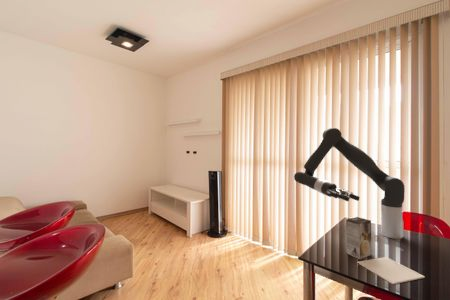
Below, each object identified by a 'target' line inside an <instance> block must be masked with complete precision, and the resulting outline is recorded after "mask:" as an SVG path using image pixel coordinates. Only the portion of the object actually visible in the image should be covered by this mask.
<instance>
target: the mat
mask: <svg viewBox="0 0 450 300" xmlns="http://www.w3.org/2000/svg"><path fill="white" fill-rule="evenodd" d="M356 263H357V264H358V263H359V264H358V265H360V266H362V267H363V268H365V269H367V270H368V271H369V272H372V273H373V274H375V275H377V276H378V277H379V278H381V279H383V280H385V281H386V282H387V283H389V284H390V285H397V284H401V283H406V282H410V281H415V280H420V279H425V278H426V277H425V275H423V274H421V273H419V272H417V271H415V270H414V269H413V270H412V269H411V268H409V267H407V266H405V265H403V264H402V263H399V262H397V261H395V260H393V259H391V258H390V257H387V256H383V257H378V258H372V259H365V260H360V261H357V262H356Z"/></svg>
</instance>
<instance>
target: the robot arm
mask: <svg viewBox="0 0 450 300" xmlns="http://www.w3.org/2000/svg"><path fill="white" fill-rule="evenodd" d="M332 148H335V150H337V151H338V152H339V153H340V154H341V155H342V156H343V157H344V158H345V159H346V160H347V161H349V162H350V164H352V165H353V166H354V167H356V168H357V170H360V171H361V173H363V174H364V175H366V176H367V177H369V178H370V179H371V181H373V182H374V183H375V184H376V186H378V187H379V188H380V190H382V191H383V192H384V196H383V198H381V201H380V212H381V213H380V214H381V216H380V221H381V223H380V227H381V228H380V229H381V231H380V232H381V233H380V234H381V235H382V236H383V237H386V238H388V239H389V238H390V239H394V240H402V239H403V238H404V220H403V204H404V203H405V192H406V191H405V190H406V189H405V188H406V187H405V183H404V182H403V181H402V180H401V179H399V178H398V177H394V176H393V177H392V176H390V175H389V174H387V173H385V172H384V171H383V170H381V168H380V167H378V165H377V164H376V162H375V161H374V160H373V158H372V157H371V156H369V155H368V154H367V153H366V152H365V151H364V150H362V149H360V148H358V147H357V146H355V145H354V144H352V143H350V142H349V141H347V140H346V139H345V138H344V137H343V136H342V132H341V130H340V129H339V128H336V127H330V128H326V129H325V130H324V131H323V133H322V140H321V142H320V143H319V145H318V146H317V148H316V149H315V150H314V151H313V153H312V154H311V155H310V156H309V157H308V159H307V160H306V162H305V164H304V165H303V168H304V172H303V171H296V173H294V175H293V178H294V179H293V180H294V181H295V182H296V183H299V184H301V185H303V186H306V187H309V189H312V190H314V191H317V192H319V193H321V194H322V195H325V196H327V197H329V198H331V197H333V198H334V199H340V200H342V201H345V202H349V201H350V199H352V200H355V201H357V202H358V201H360V196H358V195H356V194H354V193H353V192H351V191H349V190H346V189H344V188H338V187H337V185H336V184H335V183H333V182H330V181H327V180H325V179H322V178H321V179H320V178H318V177H316V176H314V174H315V171H316V170H317V168H318V167H319V166H320V164H321V163H322V162H323V160H324V159H325V157H326V156H327V154H328V153H329V152H330V150H331V149H332Z"/></svg>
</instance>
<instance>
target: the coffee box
mask: <svg viewBox="0 0 450 300" xmlns="http://www.w3.org/2000/svg"><path fill="white" fill-rule="evenodd" d="M345 222H346V223H345V224H346V225H345V229H346V230H345V233H346V238H345V239H346V254H347V255H349V256H352V257H353V258H355V259H358V260H362V259H364V258H367V257H369V256H372V220H370V219H366V218H362V217H359V216H356V217H352V218H348V219H345Z"/></svg>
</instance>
